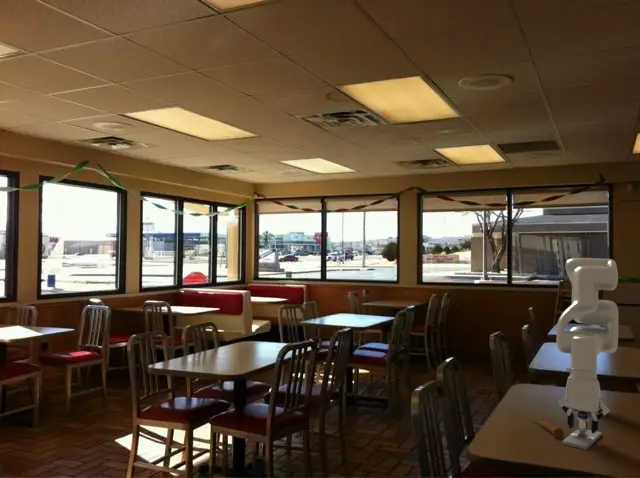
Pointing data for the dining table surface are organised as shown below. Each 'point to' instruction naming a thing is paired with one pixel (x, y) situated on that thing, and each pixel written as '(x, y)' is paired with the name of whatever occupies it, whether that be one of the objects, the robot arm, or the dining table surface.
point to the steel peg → (582, 424)
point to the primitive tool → (550, 428)
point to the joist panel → (581, 439)
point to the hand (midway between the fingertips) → (582, 429)
